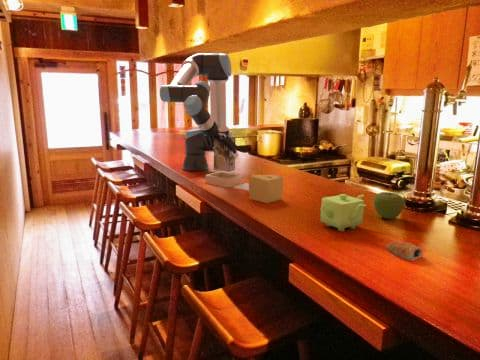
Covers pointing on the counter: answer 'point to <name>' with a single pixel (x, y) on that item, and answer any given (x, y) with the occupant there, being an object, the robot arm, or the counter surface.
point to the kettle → (342, 211)
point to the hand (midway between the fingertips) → (228, 155)
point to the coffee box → (223, 157)
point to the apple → (388, 204)
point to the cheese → (265, 188)
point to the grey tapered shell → (405, 250)
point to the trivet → (243, 187)
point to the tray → (224, 179)
